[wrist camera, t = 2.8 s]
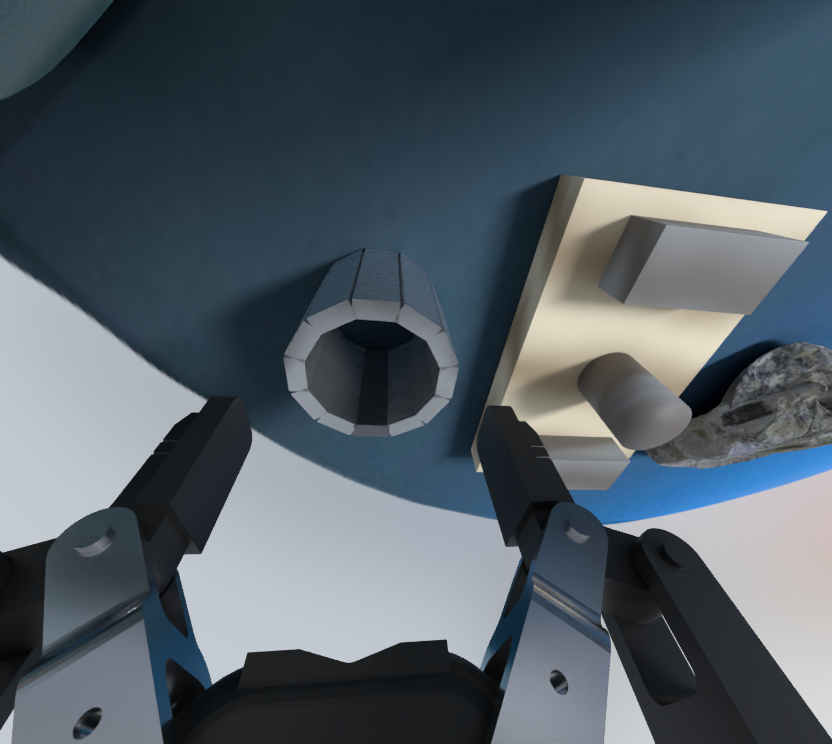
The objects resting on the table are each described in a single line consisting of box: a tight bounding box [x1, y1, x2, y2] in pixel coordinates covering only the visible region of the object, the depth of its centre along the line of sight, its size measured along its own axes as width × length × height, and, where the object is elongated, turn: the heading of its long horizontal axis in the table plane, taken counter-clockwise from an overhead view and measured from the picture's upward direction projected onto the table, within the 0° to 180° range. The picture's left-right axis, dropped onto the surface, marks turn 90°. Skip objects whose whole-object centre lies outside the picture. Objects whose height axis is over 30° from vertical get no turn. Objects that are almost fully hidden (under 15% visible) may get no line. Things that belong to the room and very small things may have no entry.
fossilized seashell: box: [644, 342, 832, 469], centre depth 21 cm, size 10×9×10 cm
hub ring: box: [284, 248, 459, 437], centre depth 14 cm, size 6×6×6 cm
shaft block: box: [471, 174, 828, 490], centre depth 17 cm, size 18×11×6 cm, turn 174°
